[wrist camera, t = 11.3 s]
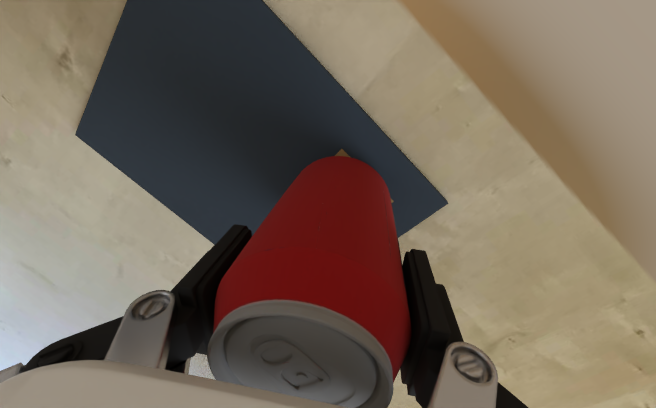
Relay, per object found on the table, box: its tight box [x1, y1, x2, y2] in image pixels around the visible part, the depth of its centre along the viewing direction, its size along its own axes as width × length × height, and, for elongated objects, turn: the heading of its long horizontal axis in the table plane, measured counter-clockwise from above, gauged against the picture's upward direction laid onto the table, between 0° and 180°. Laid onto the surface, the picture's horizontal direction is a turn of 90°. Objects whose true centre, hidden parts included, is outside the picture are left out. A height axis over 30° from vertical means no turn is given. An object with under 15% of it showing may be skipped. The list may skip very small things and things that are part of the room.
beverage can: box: [207, 156, 412, 408], centre depth 13 cm, size 7×7×12 cm
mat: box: [75, 0, 448, 245], centre depth 18 cm, size 22×16×1 cm
